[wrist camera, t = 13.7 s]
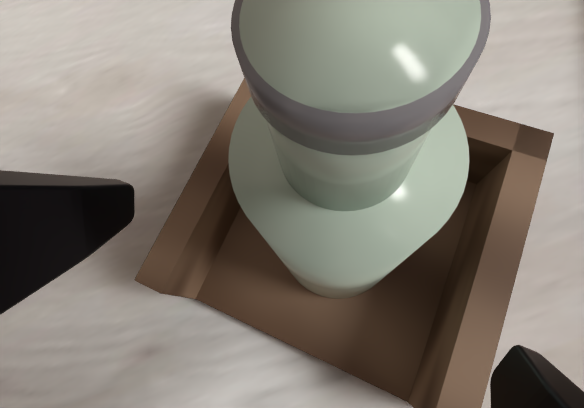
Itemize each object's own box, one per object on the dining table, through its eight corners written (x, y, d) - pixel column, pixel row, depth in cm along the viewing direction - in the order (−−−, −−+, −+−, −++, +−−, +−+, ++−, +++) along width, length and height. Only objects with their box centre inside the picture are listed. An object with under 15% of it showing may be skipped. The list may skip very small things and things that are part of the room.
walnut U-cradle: (432, 411, 15) (470, 446, 11) (180, 289, 17) (134, 280, 13) (502, 177, 17) (554, 133, 13) (274, 103, 20) (260, 48, 16)
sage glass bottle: (268, 279, 16) (80, 145, 4) (301, 181, 18) (235, -143, 5) (377, 314, 15) (565, 279, 3) (402, 208, 17) (605, -112, 4)
